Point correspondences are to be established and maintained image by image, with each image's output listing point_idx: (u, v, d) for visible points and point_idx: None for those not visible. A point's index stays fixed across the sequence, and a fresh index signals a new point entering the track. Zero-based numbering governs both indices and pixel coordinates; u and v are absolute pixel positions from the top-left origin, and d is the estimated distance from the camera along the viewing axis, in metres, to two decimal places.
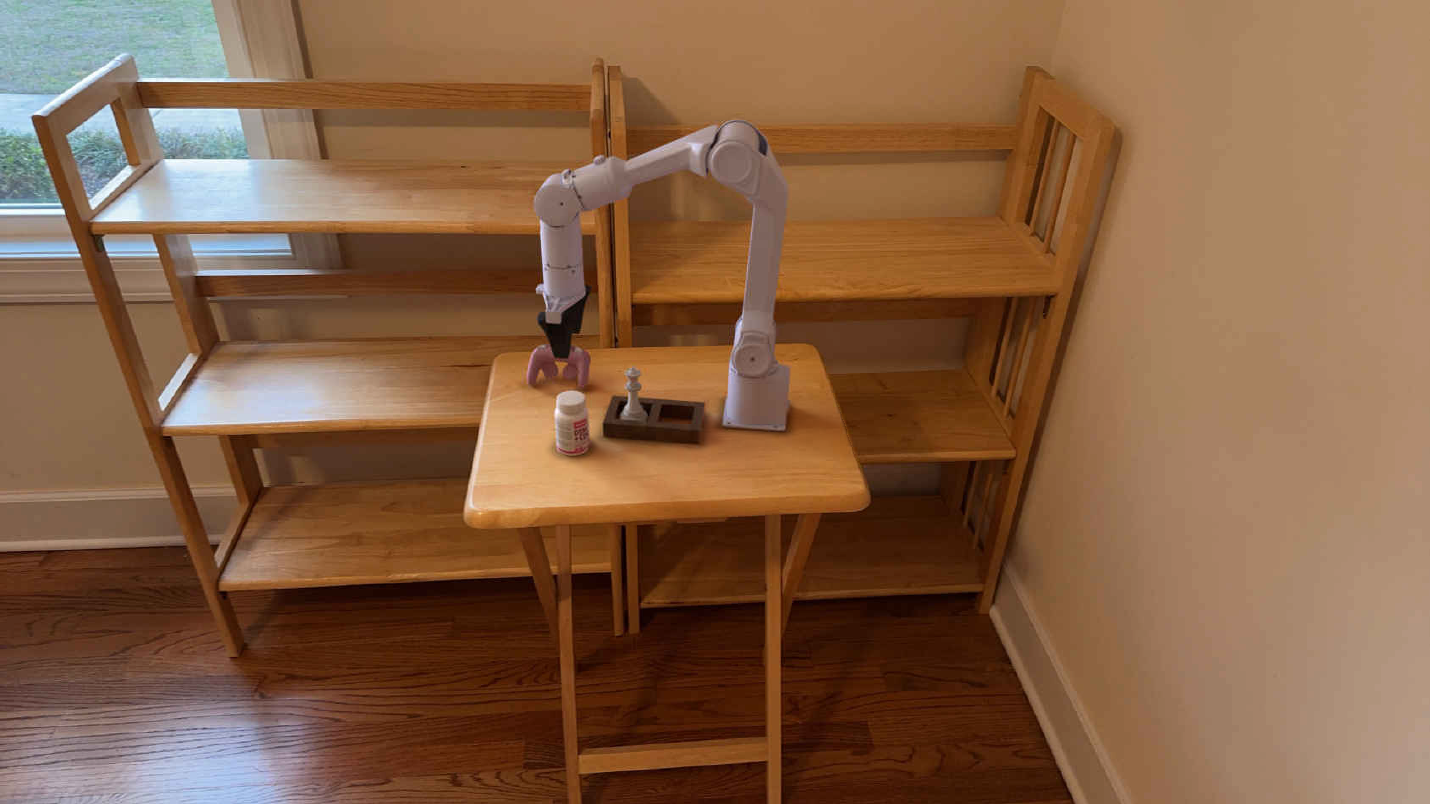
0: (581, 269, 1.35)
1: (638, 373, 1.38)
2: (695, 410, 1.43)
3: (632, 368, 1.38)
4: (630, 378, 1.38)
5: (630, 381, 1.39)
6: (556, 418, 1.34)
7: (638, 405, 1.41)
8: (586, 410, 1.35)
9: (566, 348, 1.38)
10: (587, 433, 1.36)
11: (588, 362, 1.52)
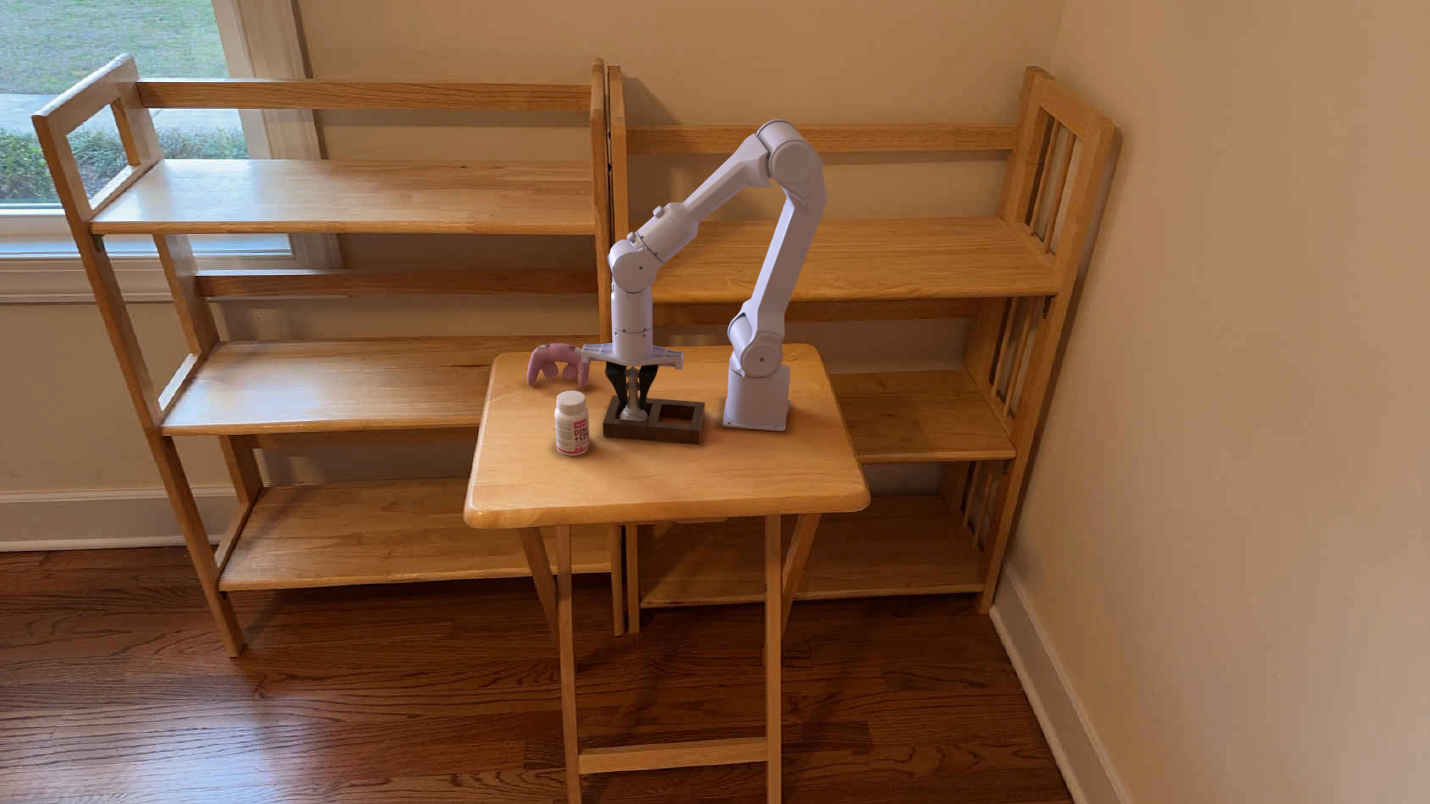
0: (625, 338, 1.32)
1: (638, 373, 1.38)
2: (695, 410, 1.43)
3: (632, 368, 1.38)
4: (630, 378, 1.38)
5: (630, 381, 1.39)
6: (556, 418, 1.34)
7: (638, 405, 1.41)
8: (586, 410, 1.35)
9: None
10: (587, 433, 1.36)
11: None
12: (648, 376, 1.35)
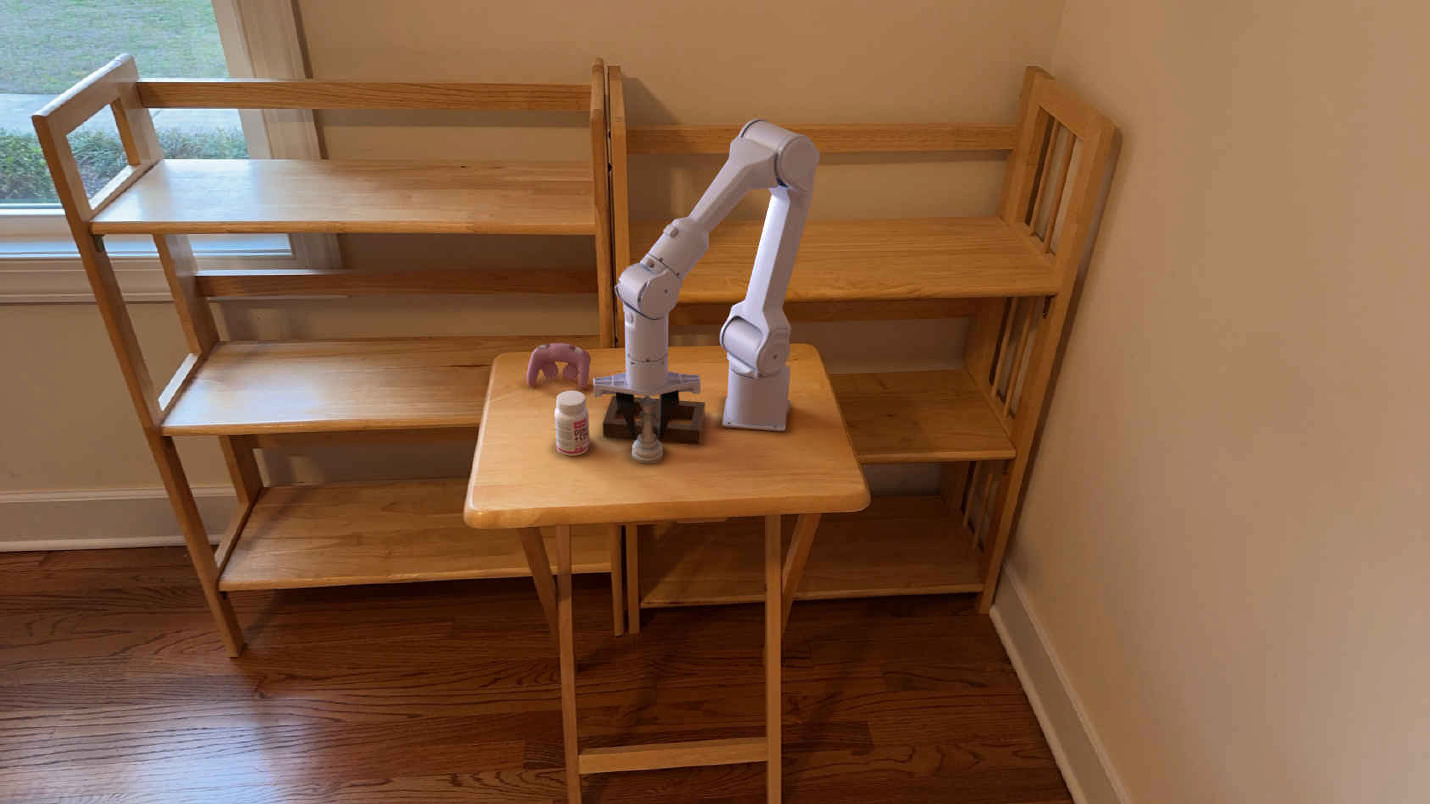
0: (643, 368, 1.26)
1: (653, 401, 1.32)
2: (695, 410, 1.43)
3: (647, 397, 1.31)
4: (645, 408, 1.31)
5: (645, 411, 1.32)
6: (556, 418, 1.34)
7: (653, 434, 1.35)
8: (586, 410, 1.35)
9: None
10: (587, 433, 1.36)
11: (588, 362, 1.52)
12: (672, 404, 1.30)
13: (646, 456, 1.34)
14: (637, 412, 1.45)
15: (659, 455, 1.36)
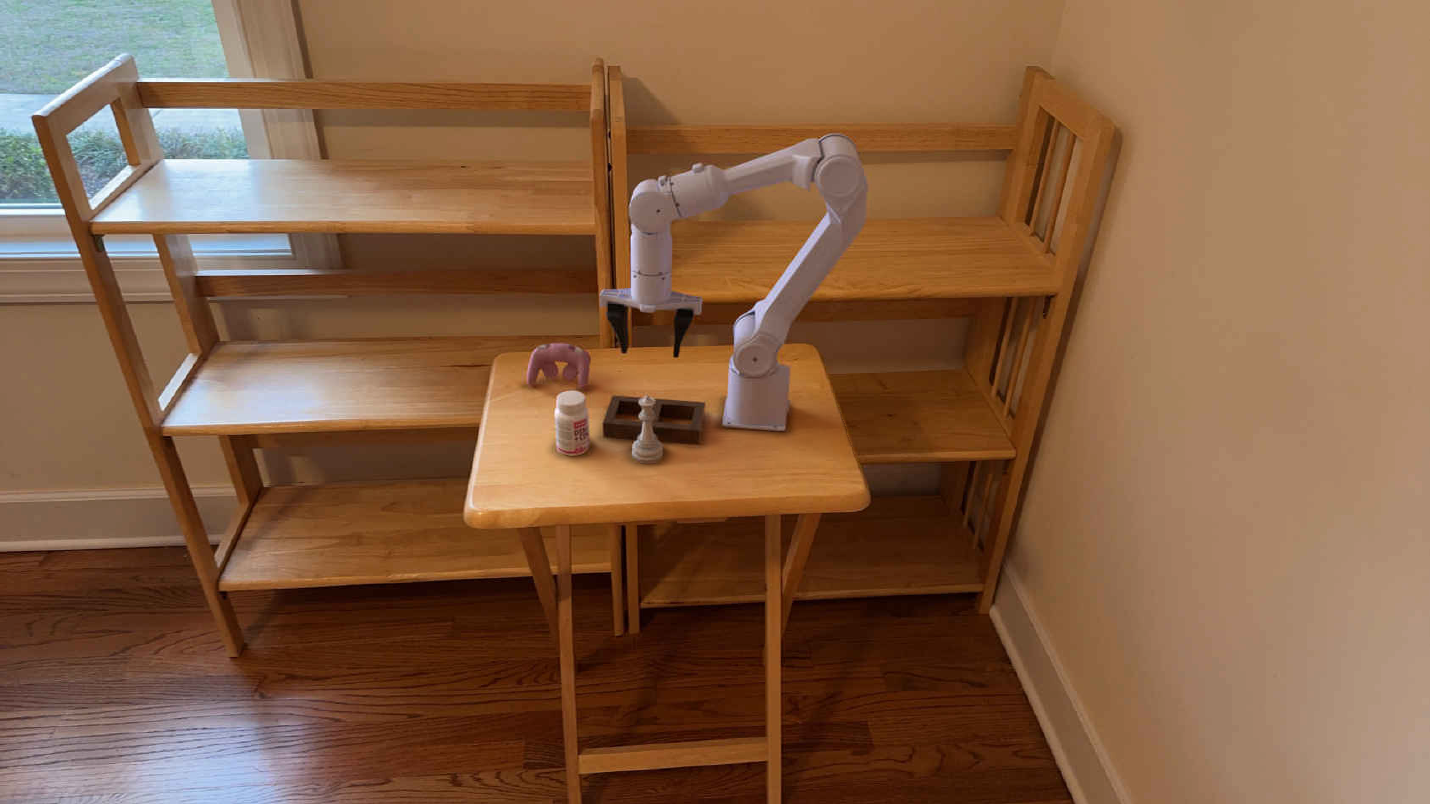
0: None
1: (653, 401, 1.32)
2: (695, 410, 1.43)
3: (647, 397, 1.31)
4: (645, 408, 1.31)
5: (645, 411, 1.32)
6: (556, 418, 1.34)
7: (653, 434, 1.35)
8: (586, 410, 1.35)
9: None
10: (587, 433, 1.36)
11: (588, 362, 1.52)
12: None
13: (646, 456, 1.34)
14: (637, 412, 1.45)
15: (659, 455, 1.36)
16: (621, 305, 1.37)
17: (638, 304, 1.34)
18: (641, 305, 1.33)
